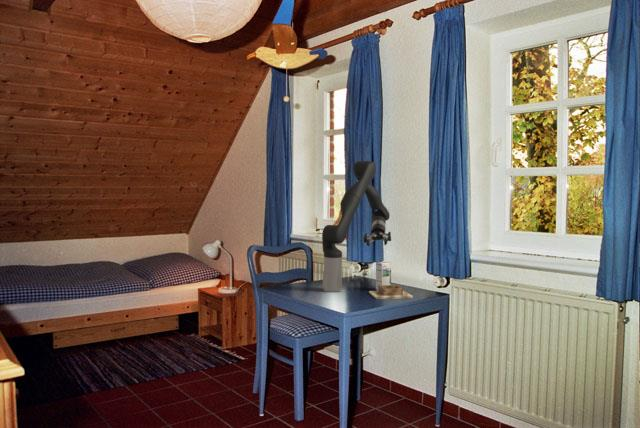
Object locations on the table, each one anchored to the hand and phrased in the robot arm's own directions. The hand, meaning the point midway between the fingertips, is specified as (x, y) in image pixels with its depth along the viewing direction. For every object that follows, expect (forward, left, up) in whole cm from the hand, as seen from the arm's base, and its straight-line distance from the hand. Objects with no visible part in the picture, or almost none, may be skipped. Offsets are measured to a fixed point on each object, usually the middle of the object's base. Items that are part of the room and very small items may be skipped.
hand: (376, 244), depth 279 cm
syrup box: (+3, -3, -24) cm, 24 cm away
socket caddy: (+3, -16, -23) cm, 29 cm away
